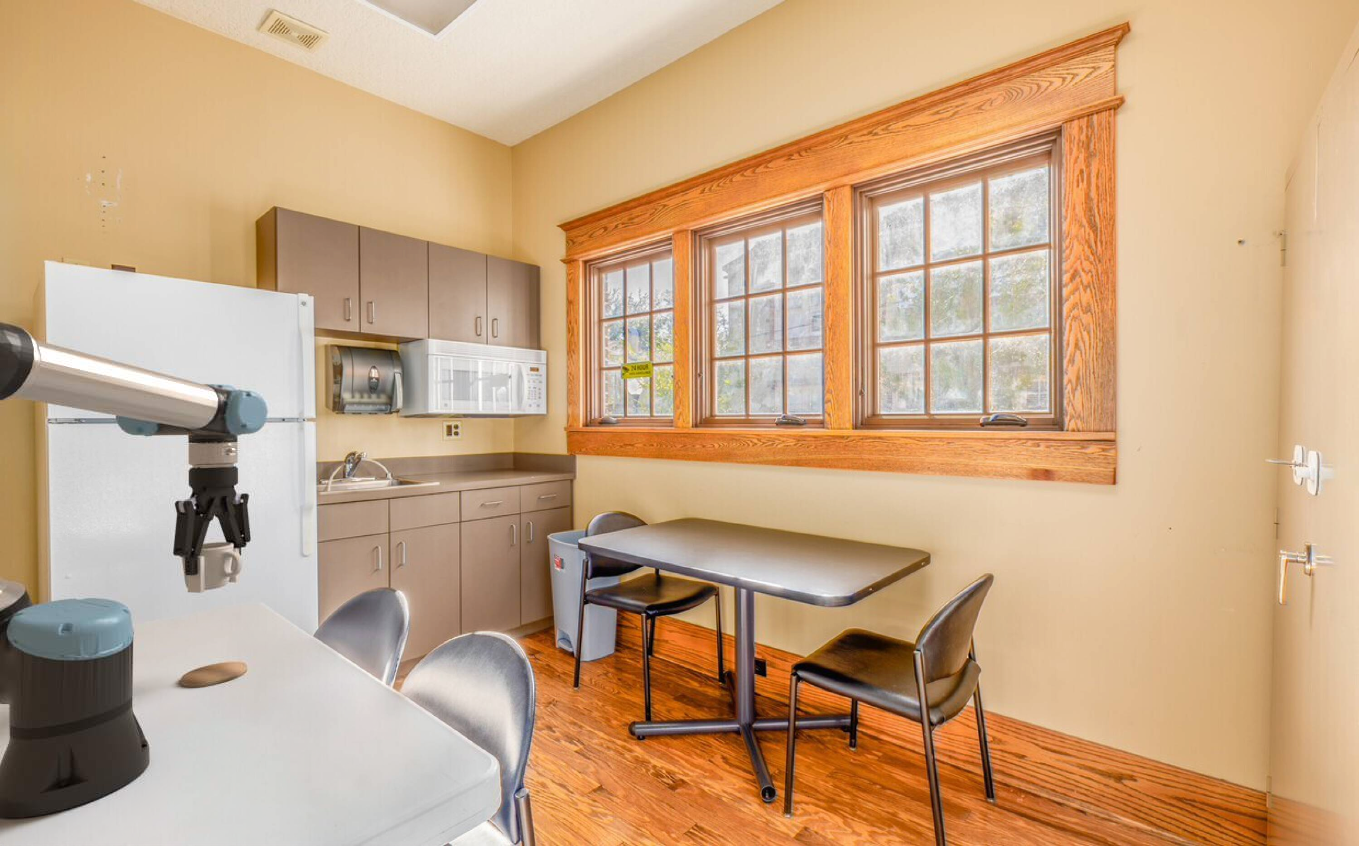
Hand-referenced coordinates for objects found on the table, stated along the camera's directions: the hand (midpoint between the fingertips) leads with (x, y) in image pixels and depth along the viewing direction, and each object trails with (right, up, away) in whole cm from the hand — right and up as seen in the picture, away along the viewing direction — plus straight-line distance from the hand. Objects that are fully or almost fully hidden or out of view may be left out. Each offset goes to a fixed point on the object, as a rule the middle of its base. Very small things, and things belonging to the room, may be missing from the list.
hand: (214, 586), depth 117 cm
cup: (0, -1, 0) cm, 1 cm away
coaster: (0, -17, 0) cm, 17 cm away
